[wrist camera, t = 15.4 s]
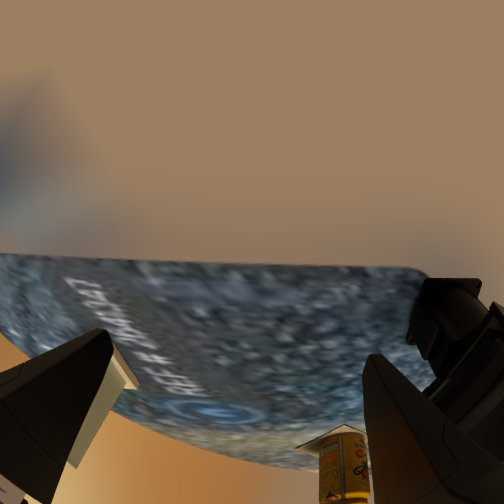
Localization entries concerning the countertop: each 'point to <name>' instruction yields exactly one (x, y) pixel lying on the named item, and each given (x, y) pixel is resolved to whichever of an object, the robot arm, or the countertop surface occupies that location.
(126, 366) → the square plate with knob
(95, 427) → the tan rectangular pillar
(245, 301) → the countertop surface
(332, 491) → the condiment
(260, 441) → the countertop surface
